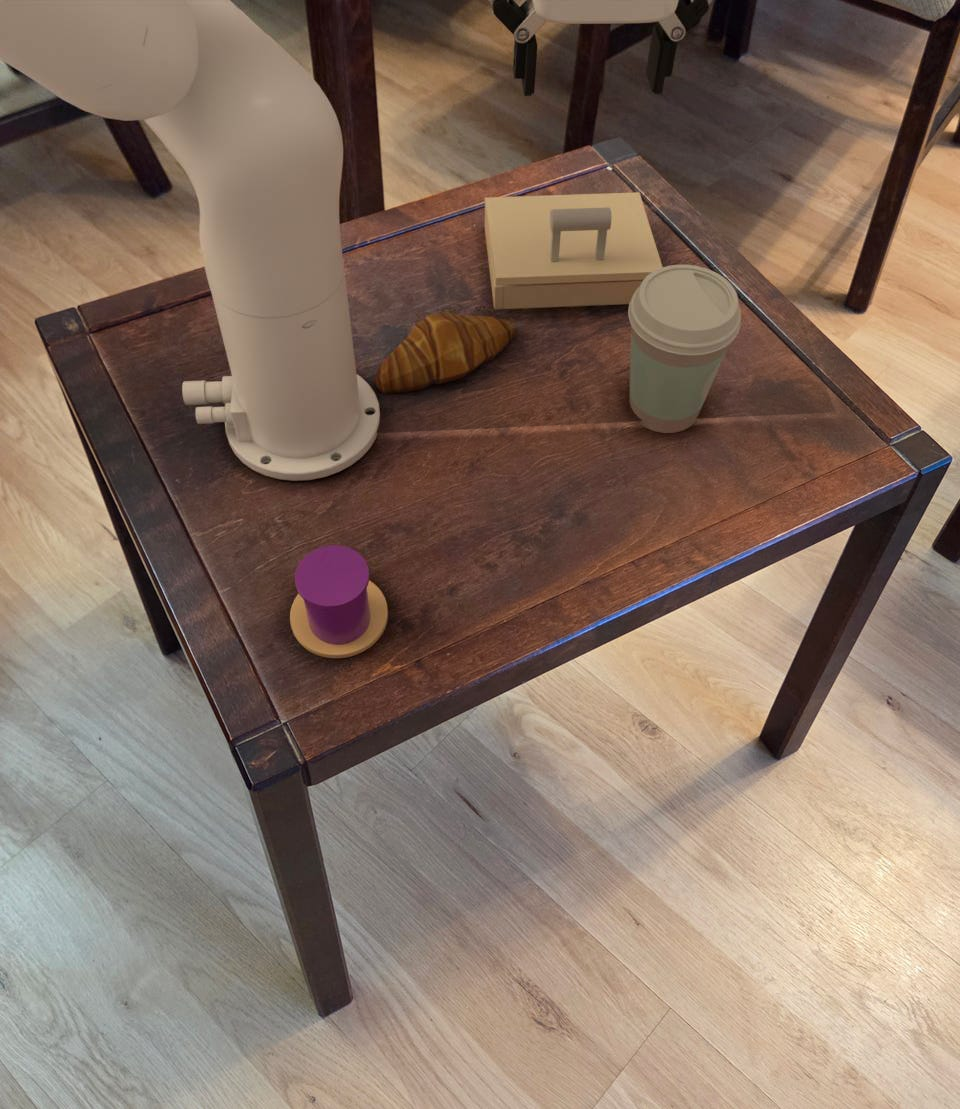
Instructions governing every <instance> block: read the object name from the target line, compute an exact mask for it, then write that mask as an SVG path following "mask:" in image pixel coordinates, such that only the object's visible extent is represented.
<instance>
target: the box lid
mask: <svg viewBox="0 0 960 1109" xmlns="http://www.w3.org/2000/svg"><path fill="white" fill-rule="evenodd" d="M485 209H486V216H487V224H488V231H489V238H490V246H491V253H492V260H493V268H494V275H495V282H496V285H519V284H545V283H571V282H596V281H622V280H644V279H645V278H646V277H647V276H648V275H649V274H650V273H652V272H654V271H655V270H657V269H660V268H662V267H663V264H662V260H661V257H660V254H659V251H658V247H657V244H656V241H655V237H654V234H653V232H652V229H651V228H652V227H651V225H650V223H649V219H648V215H647V213H646V209H645V205H644V203H643V199H642V196H641V193H640V191H638V192H609V193H605V192H604V193H580V194H579V193H577V194H552V195H547V194H546V195H526V196H524V195H521V196H495V197H484V210H485Z"/></svg>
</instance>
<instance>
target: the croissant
mask: <svg viewBox="0 0 960 1109" xmlns="http://www.w3.org/2000/svg"><path fill="white" fill-rule="evenodd" d="M515 336H516V332H515V328H514V326H513V325H512V323H511V322H510V321H508V320H507V319H503V318H498V317H494V316H491V315H489V316H487V315H474V314H464V315H463V314H461V315H459V314H456V313H453V312H449V311H443V312H438V313H432V314H431V313H430V314H429V315H427V316H425V317H424V318H422V319H421V320H419V321H418V322H416V323H415V324H414V325H413V327H412V329H411V330H410V332H409V334H408V336H407V337H406V338H404V339H403V340H402V341H401V343H400V344H399V345H397V347H395V349H394V350H393V351H392V352H391V353H390V354H389V355H388V356H387V357H386V359H385V360H384V361H383V363H382V364H381V366H380V367H379V368H378V371H377V372H376V373H375V375H374V378H373V380H374V384H375V386H376V389H377V390H378V391H379V392H380V393H381V394H383V395H388V394H400V393H401V394H402V393H407V392H415V391H421V390H424V389H426V388H429V387H430V386H432V385H433V386H435V385H440V384H441V385H442V384H445V383H449V382H453V381H457V380H460V379H463V378H464V377H465V376H467V375H469V374H470V373H472V372H473V371H475V370H476V369H477V368H479V367H480V366H481V365H482V364H483V363H486V362H490V361H492V360H493V359H494V358H495V357H497V356H498V355H499V354H500V353H501V352H502V351H504V350H505V349H507V347H508V345H510V344H511V342H512V341H513V340H514V339H515Z"/></svg>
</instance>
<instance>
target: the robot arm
mask: <svg viewBox="0 0 960 1109" xmlns="http://www.w3.org/2000/svg"><path fill="white" fill-rule="evenodd" d="M487 1H488V3H489V5H490V7H491V9H492V11H493V15H494V17H496V18H497V19H498V20H499V22H500V23H502V24H503V26H505V28H506V29H507V30H508V31H509V32H510V33H511V34H512V35H513V37H514V42H513V61H512V62H513V63H512V73H513V79H514V80H520V81H521V86H522V91H523V92H522V93H523V96H524V97H532V95H534V94H535V86H536V73H537V72H536V71H537V61H538V60H537V59H538V41H537V35H536V33H537V32H538V31H539V30H540V29H541V28H542V26H543V25H544V24H546V22H548V23H553V24H561V25H562V24H563V25H567V24H568V25H579V24H580V25H583V24H584V25H596V24H599V25H601V24H604V25H605V24H606V25H607V24H649V23H655V24H653V26H652V30H651V36H650V37H651V38H650V44H649V49H648V50H649V51H648V57H647V63H646V69H645V75H646V79H647V81H648V84H649V88H650V91H651V93H653V94H654V95H662V94H663V90H664V85H665V79H666V78H671V77H672V76H673V70H674V65H675V58H676V53H677V48H678V42H680V41H682V40H683V39H684V38H685V36H686V32H687V31H688V30H689V29H690V28H691V27H692V26H693V25H694V24H695V23H697V22H698V21H699V20H701V19H702V17H703V16H705V15H706V14H707V13H708V11H709V8H710V5H711V3H712V2H713V1H715V0H521V1H520V2H518V4H517V2H516V1H515V0H487ZM0 61H2V62H4V63H5V64H7V65H8V66H10V67H12V68H14V69H15V70H17V71H19V72H20V73H21V74H23V75H25V76H26V77H28V78H30V79H31V80H33V81H34V82H36V83H37V84H39V85H40V86H41V87H43V88H45V89H46V90H48V91H49V92H51V93H52V94H53V95H55V96H57V97H58V98H59V99H61V100H62V101H64V102H66V103H69V104H70V105H72V106H74V107H76V108H77V109H79V110H82V111H84V112H87V113H89V114H93V115H96V116H98V117H101V118H105V119H110V120H118V121H124V122H129V121H144V123H145V124H146V125H147V126H148V127H149V128H150V129H151V131H152V132H153V133H154V134H155V135H156V136H157V137H158V139H159V140H160V141H161V142H162V144H163V145H164V147H165V148H166V149H167V151H168V152H169V153H170V154H171V156H172V157H173V158H174V159H175V160H176V161H177V162H178V164H179V165H180V166H181V167H182V169H183V171H184V172H185V174H186V176H187V177H188V179H189V181H190V183H191V185H192V187H193V189H194V192H195V194H196V198H197V201H198V208H199V227H198V228H199V230H198V236H199V246H200V251H201V257H202V263H203V266H204V271H205V276H206V279H207V282H208V283H207V284H208V286H209V290H210V293H211V296H212V297H211V298H212V301H213V305H214V306H213V307H214V309H215V313H216V317H217V322H218V326H219V330H220V333H221V337H222V341H223V345H224V349H225V350H224V351H225V353H226V357H227V361H228V367H229V369H230V373H231V375H223V376H222V378H221V380H220V381H219V380H218V381H216V380H215V381H207V380H206V379H205V380H204V379H203V380H184V381H183V382H182V386H181V391H182V393H181V394H182V400H183V403H184V405H185V406H196V407H195V410H194V411H195V413H194V414H195V420H196V421H195V422H196V424H197V425H205V424H215V423H224V428H225V429H224V430H225V435H226V439H227V441H228V445H229V447H230V448H231V449H232V452H233V454H234V455H235V456H236V457H237V459H239V461H240V462H241V463H242V464H244V465H245V466H247V467H248V468H250V470H252V471H254V472H256V473H259V474H261V475H263V476H265V477H269V478H272V479H276V480H282V481H293V482H295V481H296V482H297V481H298V482H299V481H312V480H316V479H322V478H326V477H329V476H332V475H336V474H337V473H340V472H342V471H343V470H345V469H347V468H350V467H351V466H352V465H354V464H355V463H356V462H357V461H359V460H360V459H362V458H363V457H364V456H365V455H366V453H367V452H368V451H369V450H370V449H371V448H372V446H373V444H374V443H375V441H376V439H377V438H378V434H379V432H378V429H379V426H380V422H381V411H380V410H381V409H380V403H379V400H378V398H377V395H376V393H375V391H374V389H373V388H372V387H371V385H370V384H369V383H368V382H367V381H366V380H365V379H364V378H363V377H362V376H360V375H359V374H358V373H357V367H356V359H355V350H354V340H353V331H352V322H351V315H350V306H349V297H348V289H347V280H346V272H345V270H346V269H345V266H344V256H343V248H342V238H341V237H342V236H341V223H340V194H341V183H342V175H343V164H344V142H343V134H342V129H341V126H340V122H339V119H338V116H337V113H336V112H335V110H334V108H333V105H332V104H331V102H330V100H329V98H328V97H327V95H326V94H325V92H324V90H322V88H321V86H320V85H319V84H318V82H316V80H315V79H314V77H313V76H312V75H311V74H310V73H309V72H308V71H307V70H306V69H305V68H304V67H303V65H302V64H301V63H300V62H298V61H297V60H296V59H295V58H294V57H293V56H291V54H290V53H289V52H287V51H286V49H284V48H283V47H282V46H281V45H280V44H279V43H278V42H277V41H276V40H274V38H273V37H272V36H270V35H269V34H267V33H266V32H265V31H264V30H263V29H262V28H261V27H260V26H259V25H257V24H256V23H255V22H254V21H253V20H252V19H251V18H250V17H249V16H248V15H247V14H246V13H245V12H244V11H243V10H241V9H240V8H239V7H238V6H237V5H236V4H235V3H233V2H232V1H231V0H0ZM214 403H223V405H224V406H213V405H212V406H200V405H209V404H214ZM197 405H199V406H197ZM368 412H373V414H367V413H368Z"/></svg>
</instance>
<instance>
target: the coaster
mask: <svg viewBox="0 0 960 1109" xmlns="http://www.w3.org/2000/svg"><path fill="white" fill-rule="evenodd" d="M367 593H368V600H369V608H370V623H369V626H368V628H367V630H366V631H365V632H364V634H363V635H362V636H360V637H359V638H358V639H356V640H354V641H352V642H350V643H346V644H340V645H335V644H329V643H326V642H323V641H321V640H320V639H318V638H317V637H316V636H315V635H314V634H313V632H312V631H311V629H310V626H309V621H308V617H307V613H306V608H305V604H304V599H303V598H302V597H301V596H300V595H299V593H298V594H297V595H296V597H294V600H293V602H292V604H291V608H290V611H289V612H290V613H289V622H290V627H291V631H292V633H293V636H294V637H295V639H296V641H297V642H298V643H299V644H300V645H301V646H302V647H303V648H304V649H305V650H307V652H310V653H311V654H314V655H316V656H319V657H323V658H328V659H343V658H349V657H354V656H357V655H360V654H361V653H363V652H365V651H367V650H368V649H370V648H371V647H373V646H374V645H375V644H376V643H377V642H378V640H380V638H381V636H382V635H383V634H384V631H385V630H386V627H387V624H388V619H389V609H388V603H387V600H386V597H385V595H384V594H383V592H382V590H381V589H380V588H379V587H378V586H377V585H376V584H375V583H374V582H372V581H371V580H369V583H368V586H367Z"/></svg>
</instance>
